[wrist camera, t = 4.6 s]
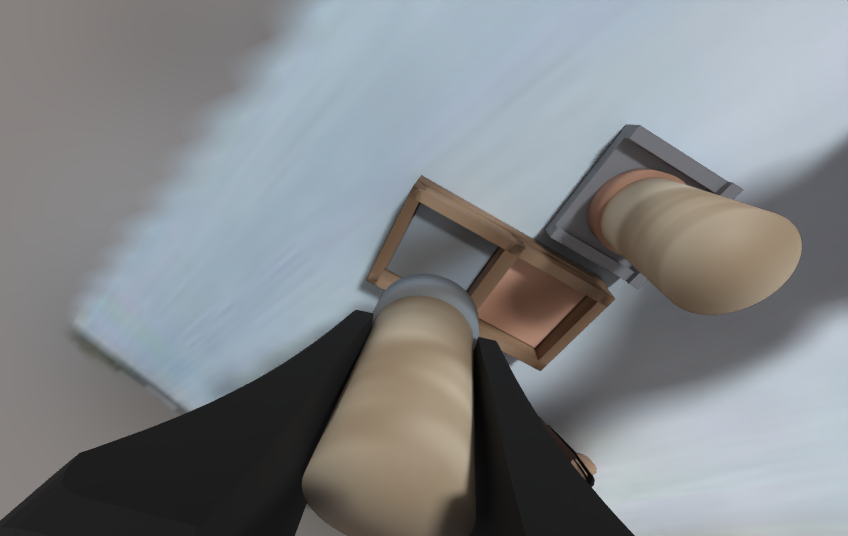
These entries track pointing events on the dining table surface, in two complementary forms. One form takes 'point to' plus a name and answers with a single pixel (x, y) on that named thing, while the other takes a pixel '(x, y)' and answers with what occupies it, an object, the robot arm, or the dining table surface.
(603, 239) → the beige short cylinder
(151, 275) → the dining table surface
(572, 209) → the grey square tray
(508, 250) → the socket board
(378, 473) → the beige rounded cylinder
